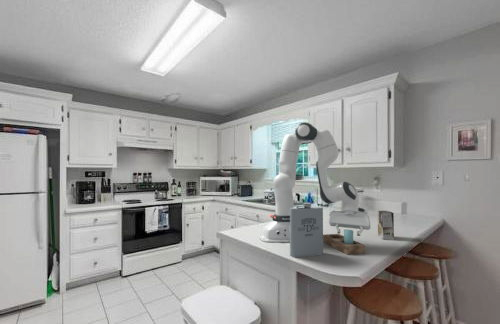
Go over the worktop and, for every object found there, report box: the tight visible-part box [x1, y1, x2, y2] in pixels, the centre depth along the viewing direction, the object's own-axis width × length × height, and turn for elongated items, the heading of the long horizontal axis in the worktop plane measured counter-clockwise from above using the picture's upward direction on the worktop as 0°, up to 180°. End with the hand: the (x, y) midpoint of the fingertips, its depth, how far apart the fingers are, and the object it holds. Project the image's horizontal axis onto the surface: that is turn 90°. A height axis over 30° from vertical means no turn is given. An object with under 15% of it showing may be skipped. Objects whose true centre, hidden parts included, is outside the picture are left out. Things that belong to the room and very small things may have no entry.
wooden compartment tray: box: [323, 233, 366, 255], centre depth 125 cm, size 10×22×4 cm, turn 13°
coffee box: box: [377, 210, 395, 241], centre depth 144 cm, size 9×6×16 cm
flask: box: [289, 202, 324, 258], centre depth 113 cm, size 17×5×25 cm, turn 107°
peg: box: [343, 229, 354, 245], centre depth 120 cm, size 4×4×10 cm
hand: (348, 234), depth 119 cm, fingers open, 8 cm apart
